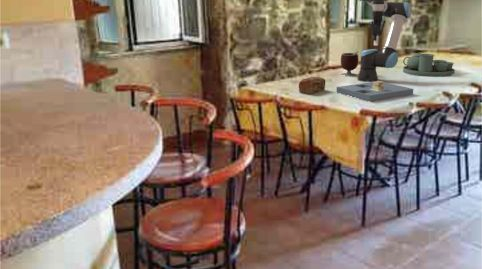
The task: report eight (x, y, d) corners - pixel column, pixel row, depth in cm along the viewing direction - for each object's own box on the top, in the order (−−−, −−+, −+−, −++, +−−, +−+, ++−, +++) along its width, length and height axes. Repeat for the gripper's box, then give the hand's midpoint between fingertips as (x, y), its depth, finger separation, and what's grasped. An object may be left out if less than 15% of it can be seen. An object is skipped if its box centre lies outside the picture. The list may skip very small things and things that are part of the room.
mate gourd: (336, 75, 389) (337, 50, 384) (347, 73, 397) (349, 48, 392) (351, 77, 378) (352, 52, 372) (362, 75, 386) (364, 50, 380)
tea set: (462, 76, 376) (465, 55, 371) (412, 77, 376) (414, 56, 371) (441, 68, 414) (443, 49, 409) (396, 69, 414) (397, 50, 409)
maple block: (377, 88, 317) (378, 80, 316) (383, 89, 313) (383, 82, 311) (372, 89, 315) (372, 81, 313) (377, 90, 311) (378, 82, 309)
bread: (310, 94, 320) (310, 80, 317) (297, 92, 327) (297, 78, 324) (325, 90, 333) (326, 76, 330) (313, 88, 340) (313, 74, 337)
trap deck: (378, 86, 342) (378, 81, 340) (412, 94, 315) (413, 88, 313) (336, 92, 324) (336, 86, 323) (369, 101, 298) (369, 95, 296)
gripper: (381, 10, 332) (378, 44, 339) (367, 10, 327) (365, 45, 334) (389, 10, 326) (386, 45, 333) (374, 11, 320) (372, 46, 327)
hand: (375, 45), depth 333 cm, fingers closed
